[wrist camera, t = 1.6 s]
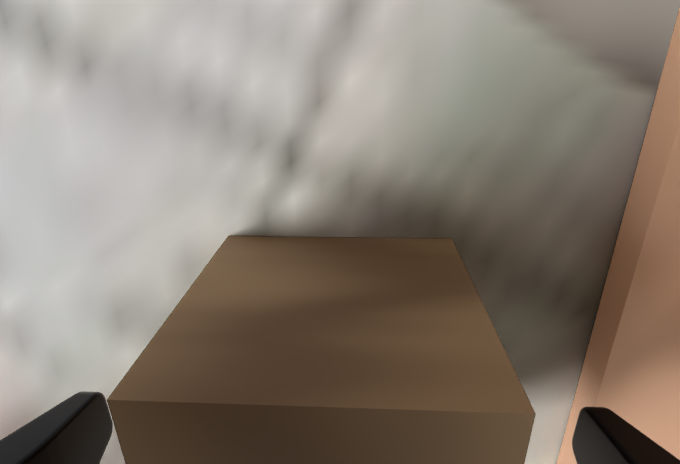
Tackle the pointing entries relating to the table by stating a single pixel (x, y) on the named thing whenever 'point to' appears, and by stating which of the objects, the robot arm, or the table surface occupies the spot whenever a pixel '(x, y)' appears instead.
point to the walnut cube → (325, 361)
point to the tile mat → (642, 290)
